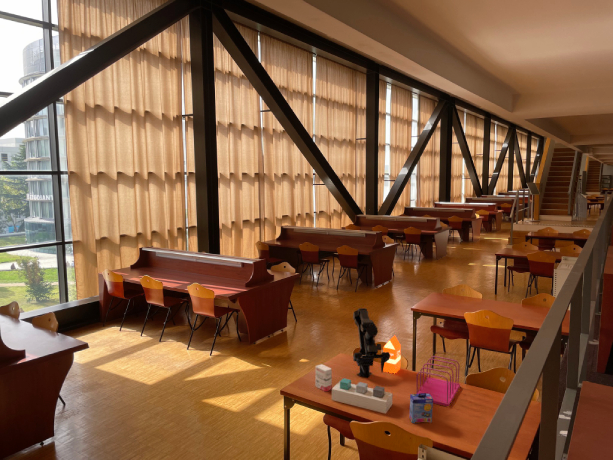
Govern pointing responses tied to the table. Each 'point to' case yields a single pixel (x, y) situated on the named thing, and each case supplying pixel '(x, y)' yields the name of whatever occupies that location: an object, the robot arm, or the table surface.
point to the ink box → (323, 377)
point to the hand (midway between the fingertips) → (373, 372)
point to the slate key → (361, 388)
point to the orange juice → (392, 355)
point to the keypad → (362, 398)
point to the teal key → (345, 384)
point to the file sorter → (439, 384)
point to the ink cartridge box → (421, 407)
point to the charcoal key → (378, 392)
